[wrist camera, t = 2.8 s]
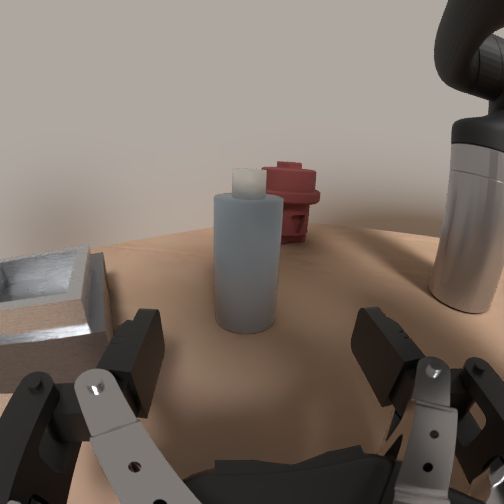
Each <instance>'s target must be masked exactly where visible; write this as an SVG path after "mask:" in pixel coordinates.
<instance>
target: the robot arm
mask: <svg viewBox="0 0 504 504" xmlns="http://www.w3.org/2000/svg"><path fill="white" fill-rule="evenodd" d="M503 27H504V0H448V3H447V5H446V8H445V11H444V13H443V16H442V19H441V22H440V24H439V27H438V31H437V35H436V39H435V47H434V61H435V66H436V70H437V72H438V75H439V76H440V78H441V80H442V81H444V83H445V84H447V85H448V86H450V87H452V88H454V89H456V90H458V91H461V92H464V93H468V94H470V95H474V96H477V97H480V98H483V99H486V100H489V111H488V115H486V116H483V117H475V118H474V117H473V118H464V119H460V120H458V121H456V122H455V123H454V124H453V126H452V136H451V137H452V138H451V144H452V145H451V160H450V175H449V185H448V193H447V201H446V209H445V214H444V220H443V226H442V231H441V236H440V241H439V246H438V250H437V255H436V259H435V263H434V267H433V271H432V275H431V278H430V282H429V290H430V291H431V293H432V294H433V295H434V296H435V297H436V298H437V299H439V300H440V301H441V302H443V303H445V304H447V305H448V306H451V307H453V308H455V309H458V310H461V311H464V312H469V313H483V312H486V311H487V310H488V309H489V308H490V305H491V303H492V300H493V297H494V294H495V291H496V288H497V285H498V282H499V279H500V276H501V273H502V269H503V266H504V39H503V38H501V37H499V36H496V35H494V34H492V33H494V32H495V31H497V30H499V29H501V28H503ZM109 343H110V344H108V346H107V348H106V350H105V352H104V353H103V355H102V357H101V359H100V361H99V363H98V365H97V367H96V369H91V370H88V371H85V372H83V373H82V374H81V375H80V376H79V377H78V378H77V379H76V381H75V383H58V384H54V382H53V380H52V378H51V376H50V375H49V374H47V373H45V372H41V371H37V372H32V373H30V374H28V375H26V376H25V377H24V378H23V379H22V380H21V382H20V383H19V385H18V387H17V388H16V390H15V392H14V394H13V395H12V397H11V399H10V401H9V403H8V404H7V406H6V408H5V410H4V412H3V414H2V416H1V418H0V504H67V499H68V494H69V490H70V485H71V481H72V477H73V473H74V469H75V465H76V461H77V458H78V454H79V450H80V447H81V443H82V441H90V442H91V445H92V447H93V449H94V452H95V454H96V456H97V458H98V460H99V463H100V465H101V467H102V469H103V471H104V473H105V475H106V477H107V479H108V481H109V483H110V484H111V486H112V488H113V490H114V492H115V493H116V495H117V497H118V499H119V500H120V502H121V504H504V382H503V381H502V379H501V378H500V377H499V376H498V374H497V373H496V372H495V371H494V370H493V368H492V367H491V366H490V365H489V364H488V363H487V362H486V361H484V360H483V359H480V358H476V357H472V358H469V359H468V360H467V361H466V363H465V364H464V366H463V368H462V369H450V368H449V367H448V365H447V364H446V363H445V362H444V361H442V360H441V359H438V358H436V357H425V355H424V354H423V353H422V352H421V350H420V349H419V348H418V347H417V346H416V344H415V343H414V342H413V341H412V340H411V338H409V336H408V335H407V334H406V332H404V330H403V329H402V328H401V326H400V325H399V324H398V323H396V322H395V321H393V320H392V319H390V318H389V317H386V315H385V314H384V313H383V312H382V311H381V310H380V308H378V307H369V308H361V309H360V310H359V312H358V315H357V319H356V323H355V327H354V330H353V334H352V338H351V349H352V352H353V354H354V356H355V358H356V360H357V361H358V363H359V365H360V367H361V369H362V371H363V372H364V374H365V376H366V378H367V380H368V382H369V384H370V385H371V387H372V389H373V391H374V393H375V395H376V397H377V399H378V401H379V403H380V404H381V406H382V407H384V406H388V405H392V404H393V405H394V407H395V408H394V409H393V411H392V413H391V417H390V420H389V423H388V426H387V430H386V433H385V436H384V439H383V442H382V444H381V447H380V449H379V451H378V453H377V454H367V453H363V451H362V448H361V446H360V445H358V446H354V447H349V448H345V449H340V450H335V451H329V452H326V453H324V454H321V455H319V456H316V457H314V458H311V459H309V460H306V461H303V462H300V463H298V464H293V465H288V464H278V463H270V462H263V461H257V460H215V469H211V470H206V471H203V472H199V473H197V474H194V475H191V476H189V477H187V478H185V479H183V480H181V479H180V477H179V476H178V475H177V474H176V472H175V471H174V470H173V468H172V467H171V466H170V464H169V463H168V462H167V460H166V459H165V458H164V456H163V455H162V453H161V452H160V451H159V449H158V448H157V446H156V445H155V443H154V442H153V440H152V439H151V437H150V436H149V434H148V433H147V431H146V429H145V428H144V426H143V425H142V423H141V422H140V420H137V417H139V418H146V419H147V418H148V414H149V410H150V406H151V402H152V398H153V394H154V390H155V386H156V383H157V379H158V375H159V372H160V368H161V364H162V361H163V357H164V351H165V344H164V337H163V331H162V324H161V318H160V312H159V310H157V309H139V310H138V312H137V314H136V316H135V317H134V319H133V321H132V320H126V321H125V322H124V323H123V324H121V325H120V326H119V327H118V328H117V330H116V332H115V333H114V335H113V337H112V339H111V341H110V342H109ZM475 401H476V403H477V404H478V406H479V407H480V408H481V410H482V411H483V413H484V415H485V417H486V425H485V427H484V428H483V430H482V431H481V429H480V428H479V426H478V424H477V423H476V421H475V419H474V418H473V416H472V415H471V413H470V412H469V410H470V408H471V407H472V406H473V404H474V403H475ZM454 453H455V455H456V457H457V459H458V461H459V463H460V465H461V467H462V469H463V471H464V473H465V475H466V478H467V480H468V482H469V484H470V492H469V493H468V494H467V495H466V494H464V493H462V492H459V491H457V490H454V489H452V488H450V487H449V484H450V479H451V473H452V467H453V460H454Z"/></svg>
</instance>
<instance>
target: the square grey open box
mask: <svg viewBox="0 0 504 504" xmlns="http://www.w3.org/2000/svg"><path fill="white" fill-rule="evenodd" d="M113 335H114V332H113V324H112V316H111V306H110V294H109V285H108V279H107V273H106V267H105V261H104V255H103V252H102V253H95V254H90V247H89V245H85V246H78V247H72V248H65V249H59V250H52V251H46V252H40V253H34V254H28V255H22V256H17V257H11V258H5V259H0V393H14V392H15V390H16V388H17V387H18V385H19V383H20V382H21V380H22V379H23V378H24V377H25V376H26V375H28V374H30V373H32V372H37V371H41V372H45V373H47V374H49V375H50V376H51V378H52V380H53V382H54V384H58V383H75V381H76V379H77V378H78V377H79V376H80V375H81V374H82V373H83V372H85V371H88V370H91V369H96V367H97V365H98V363H99V361H100V359H101V357H102V355H103V353H104V352H105V350H106V348H107V346H108V344H110V343H109V342H110V341H111V339H112V337H113Z"/></svg>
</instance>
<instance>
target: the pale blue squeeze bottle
mask: <svg viewBox="0 0 504 504" xmlns="http://www.w3.org/2000/svg"><path fill="white" fill-rule="evenodd" d="M266 175H267V170H262V169H233V181H232V193H224V194H218V195H215V196H214V285H215V318H216V321H217V323H218V324H219V325H220V326H221V327H222V328H224V329H226V330H228V331H230V332H234V333H239V334H253V333H258V332H262V331H264V330H266V329H268V328H269V327H270V326H271V325H272V324H273V322H274V319H275V308H276V296H277V285H278V272H279V260H280V246H281V232H282V217H283V201H284V199H283V198H282V197H279V196H276V195H270V194H266Z"/></svg>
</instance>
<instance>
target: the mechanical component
mask: <svg viewBox="0 0 504 504" xmlns="http://www.w3.org/2000/svg"><path fill="white" fill-rule="evenodd" d="M262 170H267V175H266V194H270V195H276V196H279V197H282V198H283V199H284V201H283V217H282V232H281V244H284V243H289V242H304V241H305V238H306V233H307V225H308V216H309V205H312V204H316V203H318V202H319V200H320V192H319V191H317V190H315V182H316V171H313V170H308V169H302V164H301V163H296V162H295V163H294V162H279V161H278V162H277V167H263V168H262Z"/></svg>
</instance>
